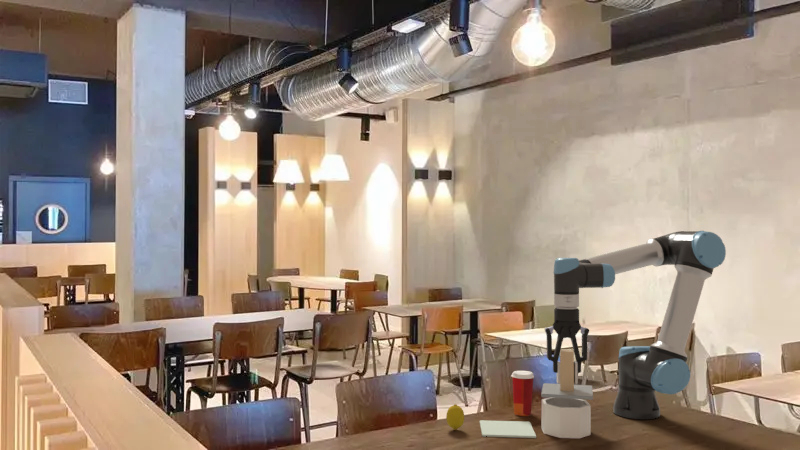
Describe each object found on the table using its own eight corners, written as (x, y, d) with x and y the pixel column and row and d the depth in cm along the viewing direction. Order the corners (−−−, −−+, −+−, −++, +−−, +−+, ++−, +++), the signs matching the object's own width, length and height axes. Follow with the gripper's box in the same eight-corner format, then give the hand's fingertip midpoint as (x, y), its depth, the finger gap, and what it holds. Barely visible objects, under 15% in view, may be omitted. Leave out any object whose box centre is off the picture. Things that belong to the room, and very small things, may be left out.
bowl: (584, 425, 221) (584, 397, 222) (593, 438, 207) (593, 408, 208) (539, 424, 222) (539, 396, 222) (545, 437, 208) (546, 407, 208)
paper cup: (533, 411, 239) (533, 370, 239) (535, 417, 231) (535, 375, 232) (509, 410, 240) (510, 369, 240) (511, 416, 232) (511, 374, 232)
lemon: (452, 433, 211) (452, 407, 211) (442, 429, 216) (443, 403, 216) (467, 431, 214) (467, 405, 214) (458, 426, 219) (458, 401, 219)
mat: (529, 423, 224) (529, 421, 224) (536, 438, 208) (536, 436, 208) (479, 422, 225) (479, 420, 225) (482, 436, 209) (482, 434, 209)
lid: (591, 388, 220) (591, 347, 220) (593, 399, 205) (592, 355, 206) (543, 386, 224) (543, 345, 224) (541, 397, 209) (541, 353, 209)
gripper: (539, 308, 212) (539, 385, 212) (598, 309, 211) (598, 386, 211) (536, 306, 220) (536, 380, 219) (592, 306, 219) (593, 380, 218)
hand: (567, 383), depth 215 cm, fingers closed on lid, 4 cm apart
